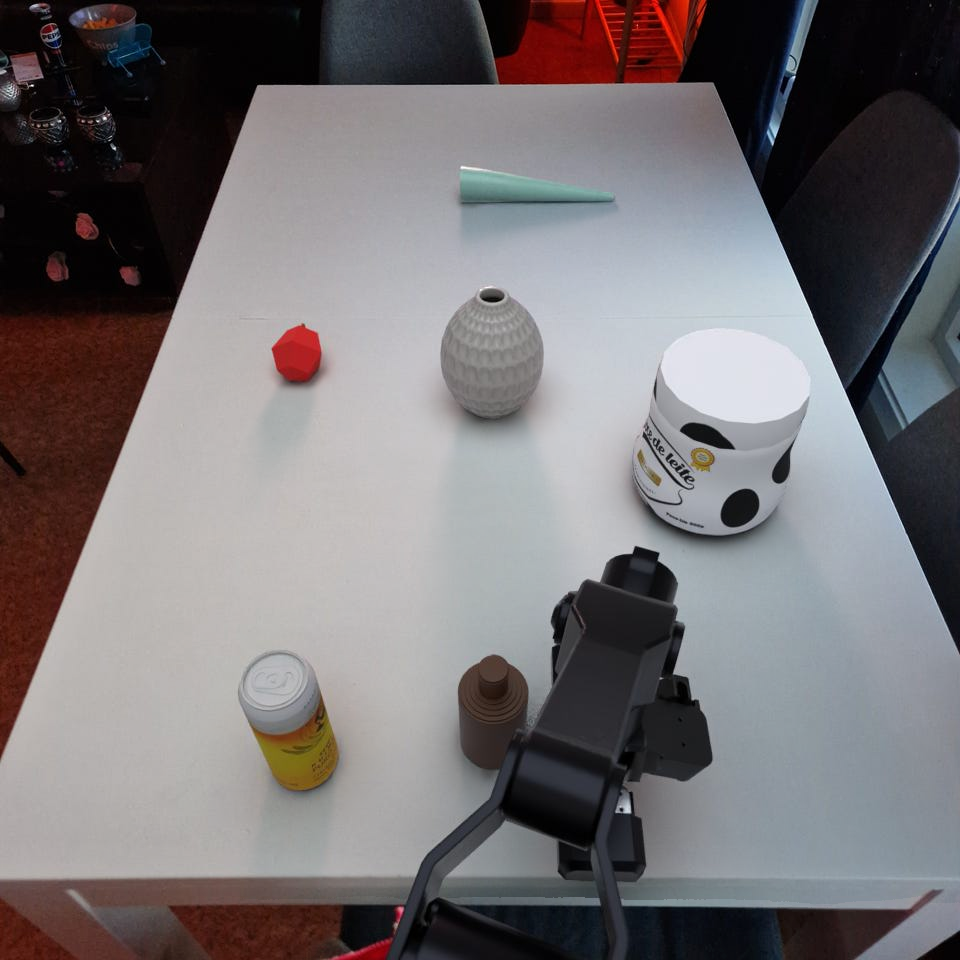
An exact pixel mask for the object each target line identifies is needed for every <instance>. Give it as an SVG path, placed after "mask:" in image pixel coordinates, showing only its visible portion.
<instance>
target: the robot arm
mask: <svg viewBox="0 0 960 960" xmlns="http://www.w3.org/2000/svg"><path fill="white" fill-rule="evenodd" d="M660 554H661V552H659V551H657V550H653V549H649V548H645V547H641V546H639V545H634V547H633V550H632V553H622V554H618V555H615V556H613V557H612V558H610V559H609V560H608V561H607V562H606V563H605V565H604V569H603V571H602V574H601V578H600V581H597V580H593V579H590V578H586V579H585V580H583V581H581V584H580V585H579V587H578V590H573V591H572V590H569V591H568V592H567V594H564V596H563V597H562V598H561V599H560V600H559V601H558V602H557V604H556V605H555V606H554V608H553V611H552V614H551V617H550V625H551V627H552V630H553V634H552V640H553V644H555V645H553V646H551V649H550V650H551V652H550V681H551V682H550V683H551V688H550V690H549V692H548V693H547V696H546V698H545V699H544V702H543V704H542V705H541V708H540V709H539V712H538V713H537V716H536V717H535V719H534V721H533V723H532V725H531V727H530V728H529V730H526V731H525V730H522V729H520V728H517V730H516V731H515V732H514V734H513V737H512V739H511V741H510V743H509V746H508V748H507V751H506V754H505V756H504V759H503V762H502V765H501V768H500V769H499V771H498V774H497V776H496V780H495V783H494V786H493V788H492V790H491V793H490V796H489V798H488V799H487V800H486V801H484V803H483V804H482V805H480V807H478V808H477V809H476V810H474V812H472V814H470V815H469V816H467V818H465V820H464V821H462V822H461V823H460V824H459V825H458V826H457V827H456V828H455V829H453V831H451V832H450V833H449V834H448V835H446V837H444V838H443V839H442V840H441V841H440V842H439V843H438V844H436V845H435V846H434V847H433V848H432V849H431V850H430V851H428V852H427V853H426V855H425V857H424V858H423V859H422V861H421V862H420V865H419V868H418V870H417V873H416V876H415V878H414V881H413V884H412V887H411V889H410V892H409V895H408V897H407V899H406V902H405V906H404V907H403V910H402V913H401V916H400V918H399V921H398V924H397V927H396V929H395V931H394V935H393V937H392V939H391V943H390V945H389V948H388V950H387V953H386V956H385V958H384V960H590V959H589V958H586V957H585V956H582V955H581V954H580V955H579V954H577V953H575V952H572V951H570V950H567V949H565V948H563V947H560V946H558V945H556V944H553V943H550V942H549V941H546V940H543V939H541V938H539V937H536V936H534V935H531V934H529V933H526V932H524V931H521V930H520V929H517V928H515V927H512V926H510V925H507V924H505V923H502V922H501V921H499V920H498V921H497V920H495V919H494V918H490V917H488V916H486V915H483V914H481V913H478V912H476V911H474V910H471V909H468V908H466V907H464V906H462V905H459V904H456V903H455V902H451V901H450V900H447V899H444V898H442V897H440V896H438V895H439V892H440V889H441V886H442V884H443V881H444V879H445V878H446V877H447V876H448V875H449V874H450V873H451V872H452V871H454V869H456V868H457V867H458V866H460V864H461V863H463V861H465V860H466V859H467V858H468V857H469V856H470V855H471V854H472V853H473V852H474V851H476V850H477V849H478V848H479V847H480V846H481V845H482V844H483V843H485V842H486V841H487V840H488V839H489V838H490V837H491V836H492V835H493V834H495V833H496V832H497V831H498V830H499V829H500V828H501V827H502V826H503V824H504V822H505V821H506V822H508V823H511V824H514V825H516V826H519V827H521V828H524V829H527V830H529V831H532V832H534V833H537V834H540V835H543V836H544V837H548V838H551V839H553V840H555V841H556V867H557V869H556V871H557V873H558V874H559V875H560V876H561V878H563V879H564V880H565V881H574V882H575V881H577V882H578V881H579V882H595V886H596V890H597V895H598V899H599V904H600V908H601V913H602V918H603V922H604V927H605V930H606V936H607V939H608V944H609V949H608V953H607V957H606V960H627V957H628V953H629V948H630V933H629V929H628V925H627V919H626V916H625V913H624V908H623V904H622V899H621V895H620V890H619V886H618V883H637V882H638V881H639V879H640V878H641V877H642V876H643V875H644V874H645V873H644V872H645V870H646V868H647V857H646V849H645V838H644V827H643V818H642V817H640V816H637V815H636V813H635V802H634V793H633V791H630V790H629V789H628V788H627V787H626V786H625V785H624V783H640V782H641V779H642V776H643V774H648V775H651V776H657V777H663V778H666V779H667V778H668V779H671V780H672V779H673V780H676V781H678V782H683V783H686V782H688V781H690V780H691V779H693V778H694V777H696V776H697V775H698V774H699V773H701V772H702V771H703V770H705V769H706V768H707V767H709V766H710V765H711V764H712V763H713V761H714V759H713V757H714V755H713V750H712V743H711V738H710V731H709V726H708V721H707V720H708V719H707V716H706V715H705V713H704V712H703V711H702V710H701V704H700V700H699V699H697V698H694V699H692V697H693V696H692V692H691V691H692V689H691V686H690V684H691V683H690V678H689V677H688V676H685V675H679V674H675V673H674V672H675V669H676V666H677V662H678V658H679V654H680V651H681V647H682V643H683V639H684V636H685V631H686V625H685V623H684V622H682V621H680V620H676V619H677V616H678V611H679V608H678V607H677V604H674V603H675V599H676V595H677V591H678V589H679V588H678V587H679V582H678V580H677V577H676V575H675V573H674V572H673V571H672V570H671V569H670V568H669V567H668V566H667V565H665V564H664V563H662V562H661V561H659V558H660Z"/></svg>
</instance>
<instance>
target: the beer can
mask: <svg viewBox="0 0 960 960" xmlns="http://www.w3.org/2000/svg"><path fill="white" fill-rule="evenodd" d="M237 697H238V702H239V706H240V707H241V709H242V712H243V713H244V716H245V718H246V720H247V722H248V724H249V726H250V728H251V731H252V733H253V735H254V737H255V740H256V741H257V743H258V744H257V745H258V746H259V748H260V750H261V752H262V754H263V756H264V758H265V760H266V763H267V765H268V768H269V769H270V772H271V773H272V776H273V777H274V779H275V780H276V782H277V783H278V784H280V785H281V786H282V787H284V788H286V789H289V790H293V791H306V790H310V789H313V788H315V787H318V786H319V785H321V784H322V783H324V782H325V781H327V779H328V778H329V777H330V776H331V775H332V773H333V772H334V770H335V769H336V766H337V763H338V759H339V747H338V744H337V740H336V736H335V734H334V731H333V727H332V723H331V721H330V717H329V715H328V711H327V707H326V705H325V701H324V698H323V694H322V692H321V688H320V684H319V682H318V679H317V675H316V671H315V669H314V667H313V666H312V664H311V663H310V662H309V660H308V659H307V658H305V657H303V656H302V655H299V654H298V653H297V652H295V651H293V650H290V649H286V648H276V649H270V650H267V651H264V652H262V653H260V654H258V655H256V656H255V657H253V659H251V660H250V661H249V662H248V663H247V665H246V666H245V667H244V669H243V671H242V673H241V676H240V680H239V683H238V687H237Z"/></svg>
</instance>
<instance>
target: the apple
mask: <svg viewBox="0 0 960 960" xmlns="http://www.w3.org/2000/svg"><path fill="white" fill-rule="evenodd" d="M321 346H322V345H321V342H320V337H319V332H317V331H314V330H312V329H310V328H307V327H306V324H305V323H304V322H302V323H301V324H298V325H296V326H294V327H291V328H289V329H287V330H286V331H285V332H284V333H283V334H282V336H280V338H279V339H278V340H277V341H276V342H275V344H274V345H272V347H271V352H272V357H273V360H274V364H275V368H276V371H277V372H278V373H279V374H280V375H282V376H283V377H284V378H285V379H286V380H287V381H291V382H292V381H294V382H304V383H308V382H309V380H310V379H311V378H312V377H313V376H314V374H315V373H316V372H317V371H318V370H319V369H320V366H321V360H322V351H323V350H322V347H321Z"/></svg>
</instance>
